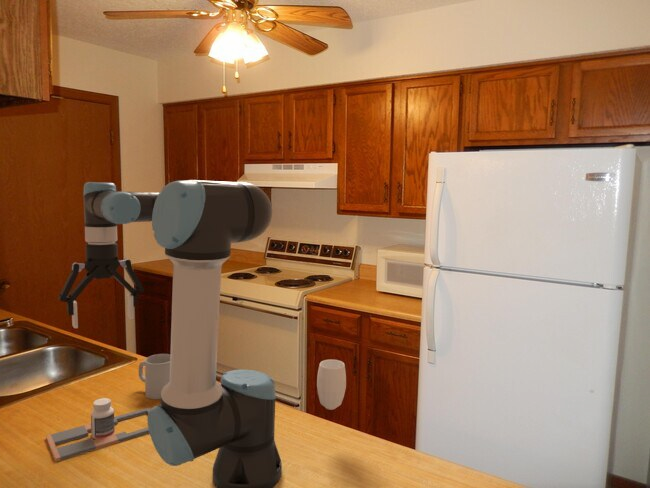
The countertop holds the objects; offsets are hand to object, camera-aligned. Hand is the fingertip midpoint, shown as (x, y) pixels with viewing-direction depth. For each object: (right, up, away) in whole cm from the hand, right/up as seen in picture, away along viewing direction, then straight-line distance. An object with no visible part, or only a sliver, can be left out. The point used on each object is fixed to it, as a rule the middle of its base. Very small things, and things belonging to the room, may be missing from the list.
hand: (103, 322), depth 122 cm
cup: (+59, -30, -5) cm, 67 cm away
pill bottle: (+2, -28, -5) cm, 28 cm away
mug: (+6, -25, +20) cm, 32 cm away
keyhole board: (+3, -28, -4) cm, 28 cm away
